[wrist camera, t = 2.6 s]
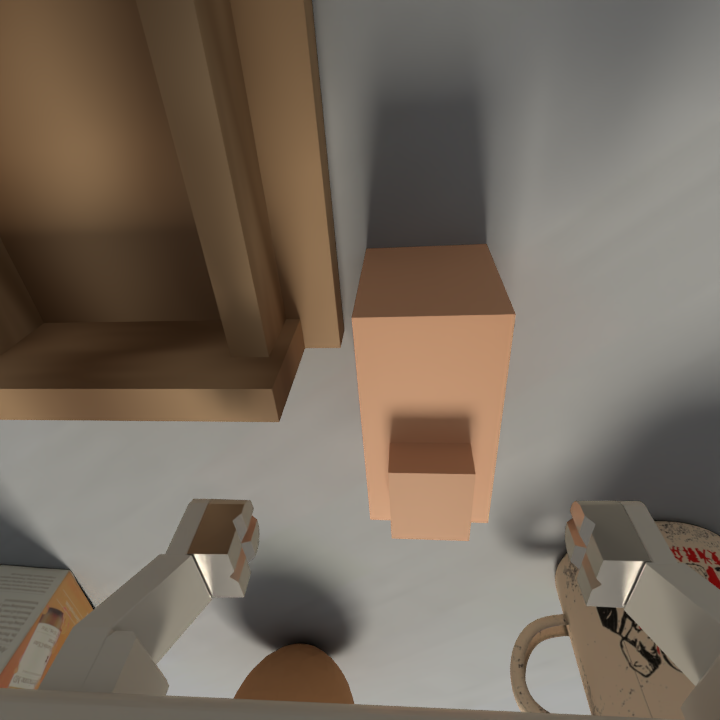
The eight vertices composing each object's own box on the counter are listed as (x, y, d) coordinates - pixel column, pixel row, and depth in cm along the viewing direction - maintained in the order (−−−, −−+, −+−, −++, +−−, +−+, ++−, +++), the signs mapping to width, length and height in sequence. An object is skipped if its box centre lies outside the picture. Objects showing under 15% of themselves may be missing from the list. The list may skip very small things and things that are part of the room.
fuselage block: (486, 242, 15) (526, 340, 10) (470, 423, 20) (493, 555, 14) (366, 247, 16) (346, 343, 10) (378, 423, 20) (367, 550, 15)
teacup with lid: (756, 505, 21) (1061, 900, 11) (721, 610, 25) (913, 950, 16) (485, 526, 23) (541, 865, 13) (500, 618, 28) (549, 917, 18)
